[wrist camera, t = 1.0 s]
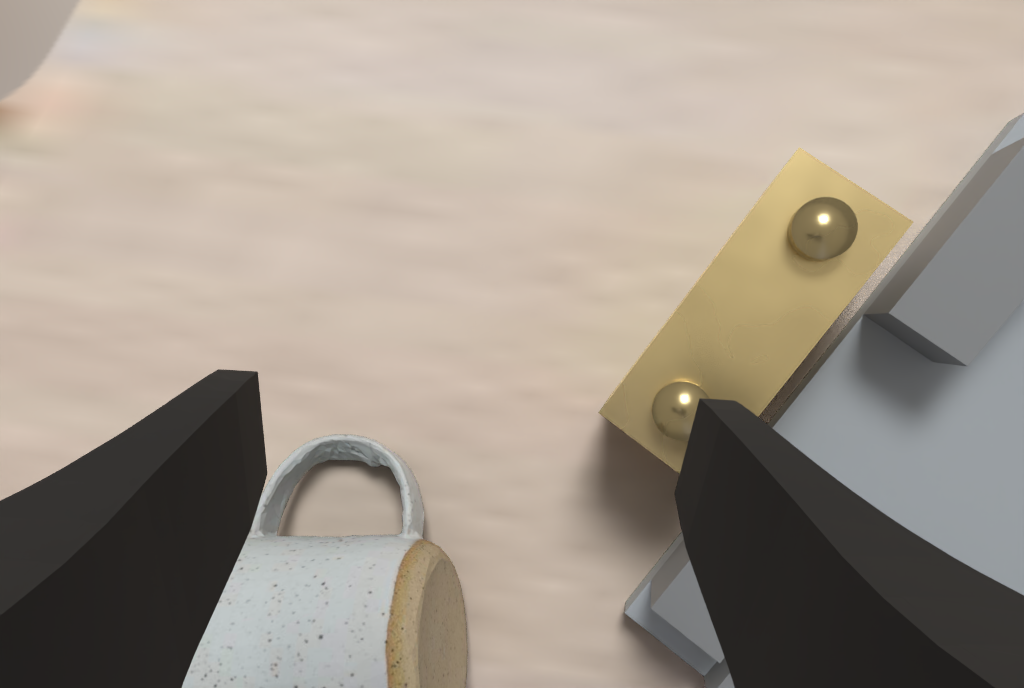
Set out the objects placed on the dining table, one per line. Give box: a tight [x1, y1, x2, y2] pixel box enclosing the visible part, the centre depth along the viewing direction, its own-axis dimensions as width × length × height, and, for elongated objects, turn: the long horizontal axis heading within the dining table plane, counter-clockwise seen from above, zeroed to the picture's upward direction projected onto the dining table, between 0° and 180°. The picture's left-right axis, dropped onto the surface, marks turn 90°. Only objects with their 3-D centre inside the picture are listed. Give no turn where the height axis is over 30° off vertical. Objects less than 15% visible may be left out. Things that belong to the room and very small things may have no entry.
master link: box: [599, 148, 913, 474], centre depth 21 cm, size 4×9×6 cm, turn 144°
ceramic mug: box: [182, 434, 467, 688], centre depth 23 cm, size 11×8×8 cm
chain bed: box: [625, 113, 1024, 688], centre depth 21 cm, size 10×20×4 cm, turn 144°
